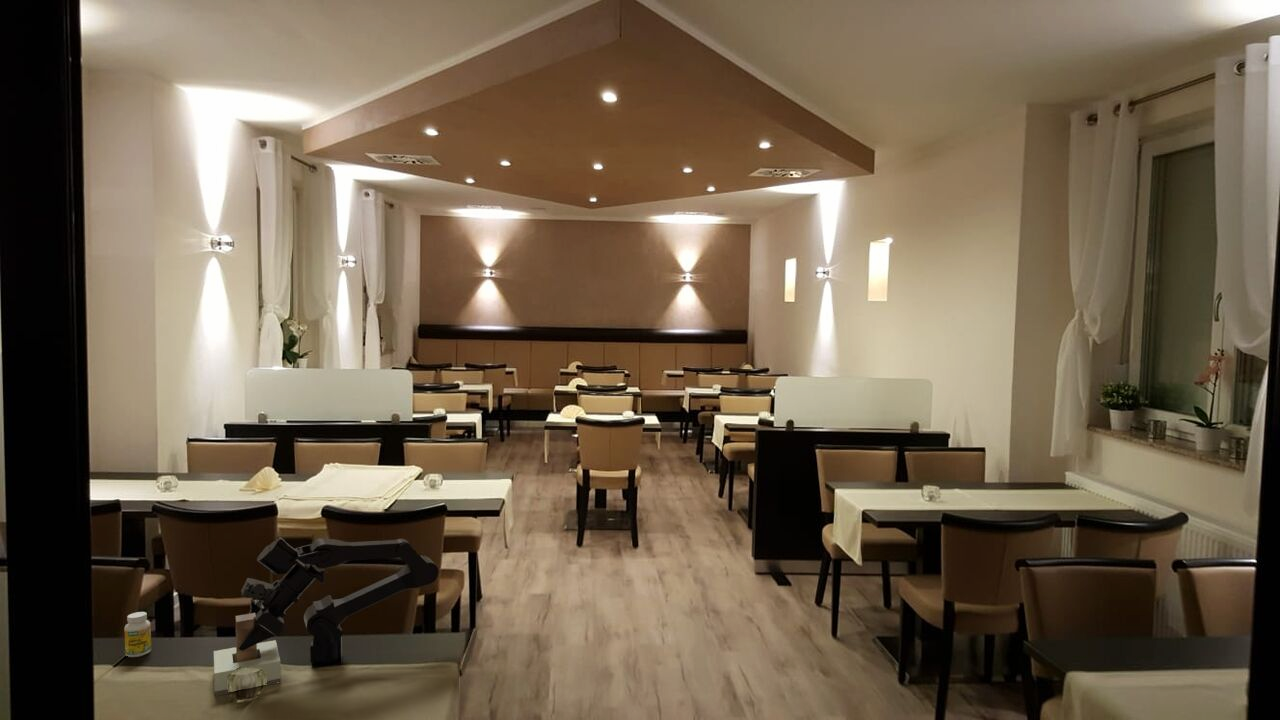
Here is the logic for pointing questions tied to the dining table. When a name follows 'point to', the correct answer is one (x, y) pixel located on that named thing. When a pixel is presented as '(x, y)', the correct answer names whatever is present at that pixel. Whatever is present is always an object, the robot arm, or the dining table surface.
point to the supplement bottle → (137, 635)
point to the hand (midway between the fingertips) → (239, 641)
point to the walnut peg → (242, 629)
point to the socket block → (246, 665)
